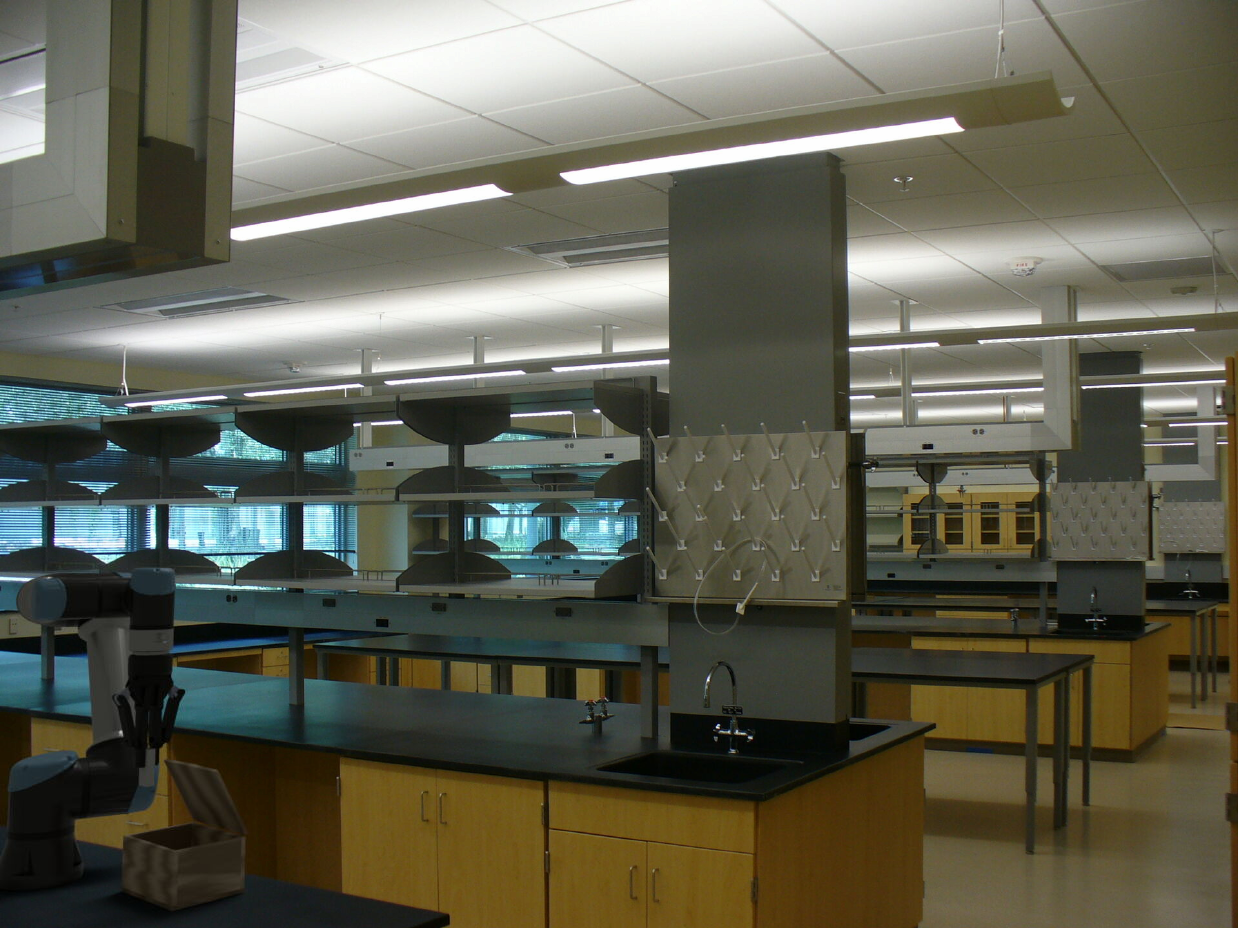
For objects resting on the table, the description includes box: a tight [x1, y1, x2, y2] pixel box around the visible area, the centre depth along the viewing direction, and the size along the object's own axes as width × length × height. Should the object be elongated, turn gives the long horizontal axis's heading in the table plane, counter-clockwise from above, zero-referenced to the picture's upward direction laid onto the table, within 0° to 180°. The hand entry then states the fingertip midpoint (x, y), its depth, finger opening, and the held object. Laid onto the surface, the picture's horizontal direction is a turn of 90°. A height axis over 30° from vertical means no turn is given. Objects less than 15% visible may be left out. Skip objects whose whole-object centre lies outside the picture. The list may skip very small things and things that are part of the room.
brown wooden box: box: [120, 821, 246, 912], centre depth 207 cm, size 18×14×10 cm
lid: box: [163, 758, 249, 836], centre depth 211 cm, size 18×14×1 cm
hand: (146, 784), depth 202 cm, fingers closed
